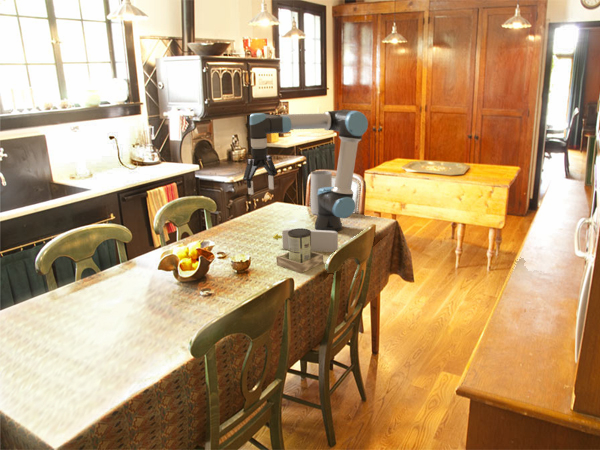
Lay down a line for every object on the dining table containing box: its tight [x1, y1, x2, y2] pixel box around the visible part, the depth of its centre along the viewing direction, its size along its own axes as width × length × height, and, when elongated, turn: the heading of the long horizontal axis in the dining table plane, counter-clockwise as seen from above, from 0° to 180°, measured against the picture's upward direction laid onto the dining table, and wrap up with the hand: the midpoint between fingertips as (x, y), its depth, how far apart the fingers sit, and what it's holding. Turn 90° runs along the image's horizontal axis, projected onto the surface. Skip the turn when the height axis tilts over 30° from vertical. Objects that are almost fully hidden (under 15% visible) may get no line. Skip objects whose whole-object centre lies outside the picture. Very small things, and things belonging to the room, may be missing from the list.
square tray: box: [275, 251, 324, 274], centre depth 220 cm, size 15×15×4 cm
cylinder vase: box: [310, 170, 333, 216], centre depth 296 cm, size 12×12×25 cm
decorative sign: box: [272, 228, 339, 253], centre depth 238 cm, size 32×4×10 cm, turn 77°
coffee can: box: [288, 228, 311, 263], centre depth 219 cm, size 10×10×14 cm
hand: (261, 191), depth 234 cm, fingers open, 13 cm apart
